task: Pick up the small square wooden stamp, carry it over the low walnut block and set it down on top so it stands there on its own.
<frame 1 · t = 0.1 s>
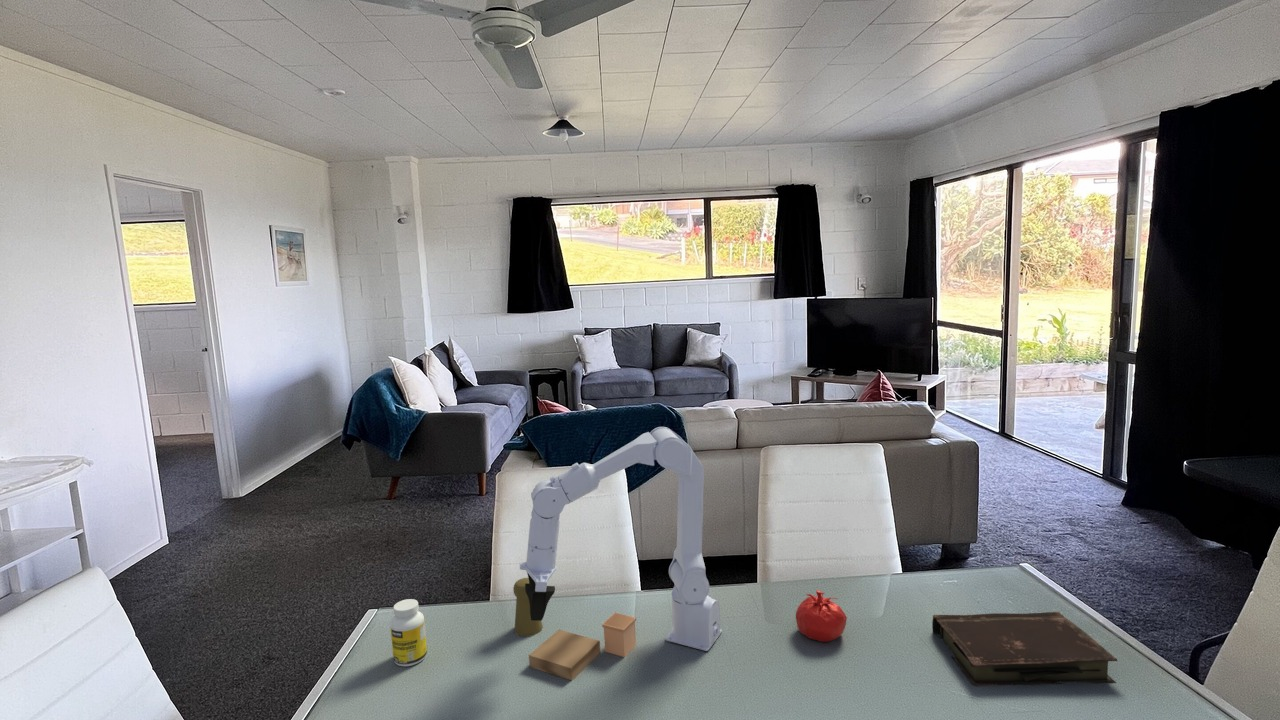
hand: (536, 609, 129), 11 cm above the table, tool pointing down, fingers open, 7 cm apart
olive pawn: (528, 629, 142), on the table
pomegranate: (821, 634, 135), on the table
pill bottle: (410, 659, 132), on the table
diary: (1017, 659, 124), on the table
walnut block: (565, 659, 130), on the table
square wooden stamp: (620, 648, 133), on the table
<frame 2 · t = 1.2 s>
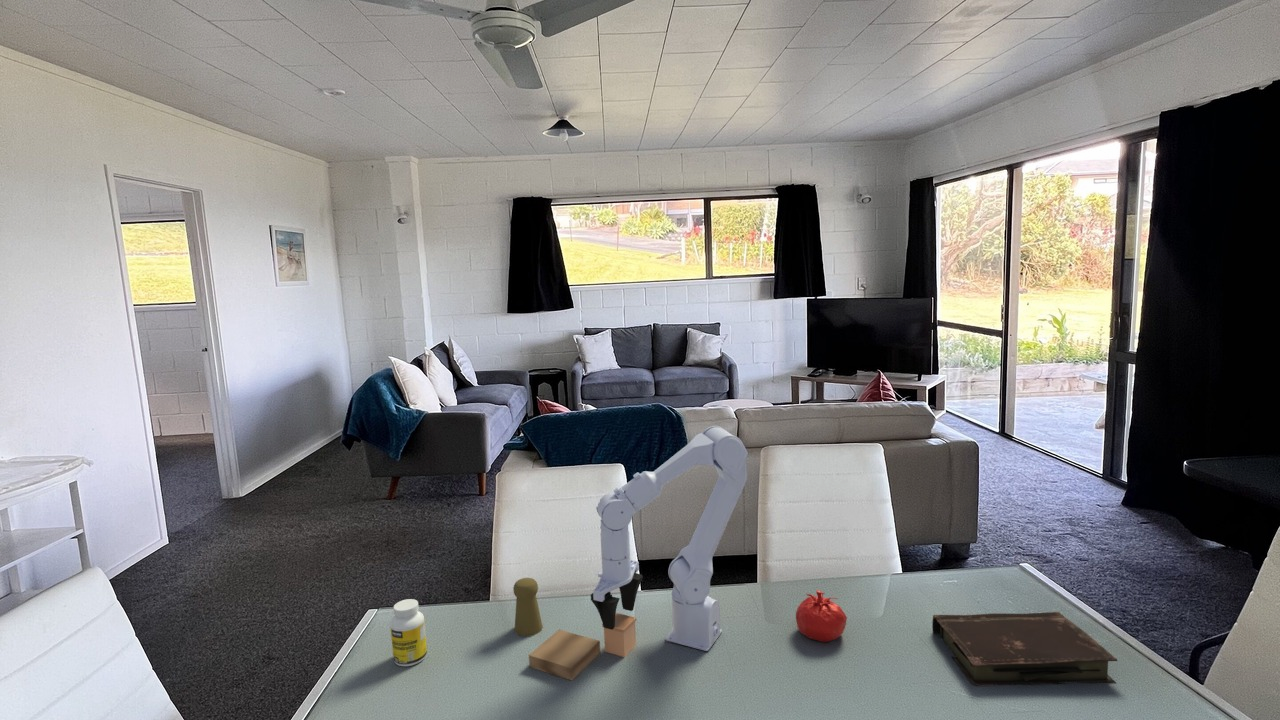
hand: (618, 618, 132), 6 cm above the table, tool pointing down, fingers open, 7 cm apart
nothing on the table moved.
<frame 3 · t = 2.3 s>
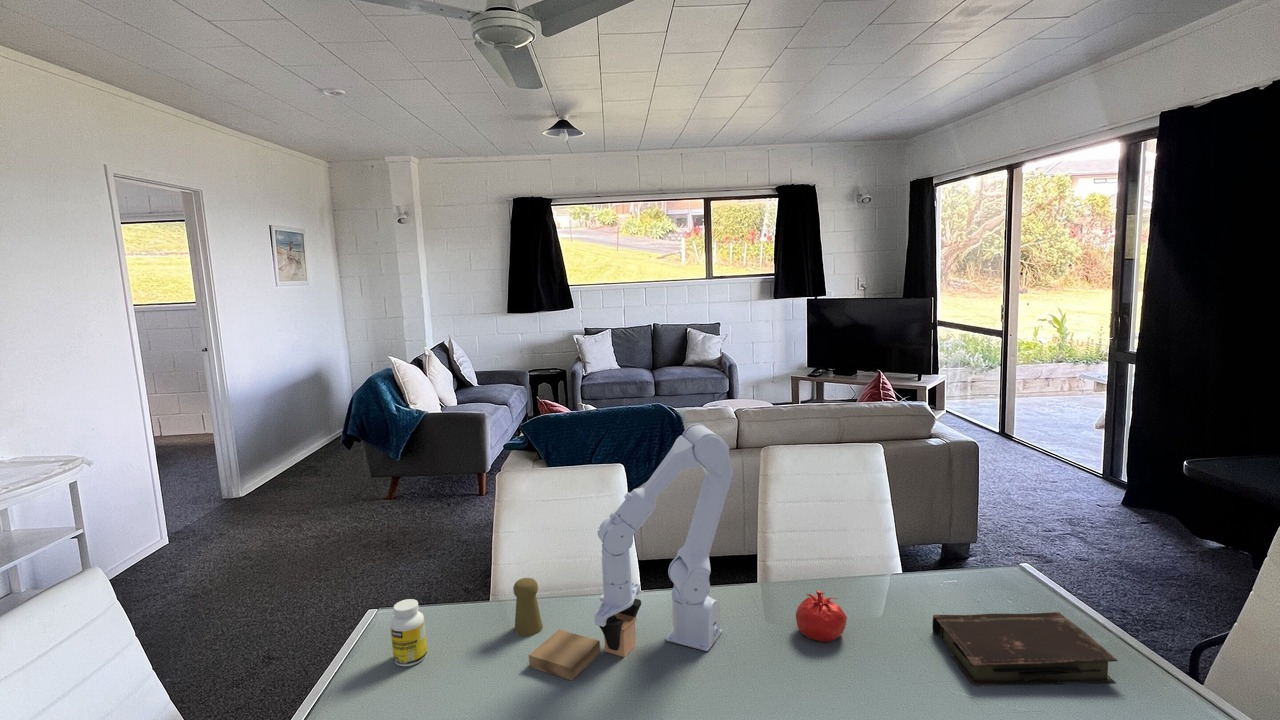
hand: (620, 641, 133), 1 cm above the table, tool pointing down, fingers closed on square wooden stamp, 5 cm apart
square wooden stamp: (620, 648, 133), on the table, touching gripper
everything else where it was.
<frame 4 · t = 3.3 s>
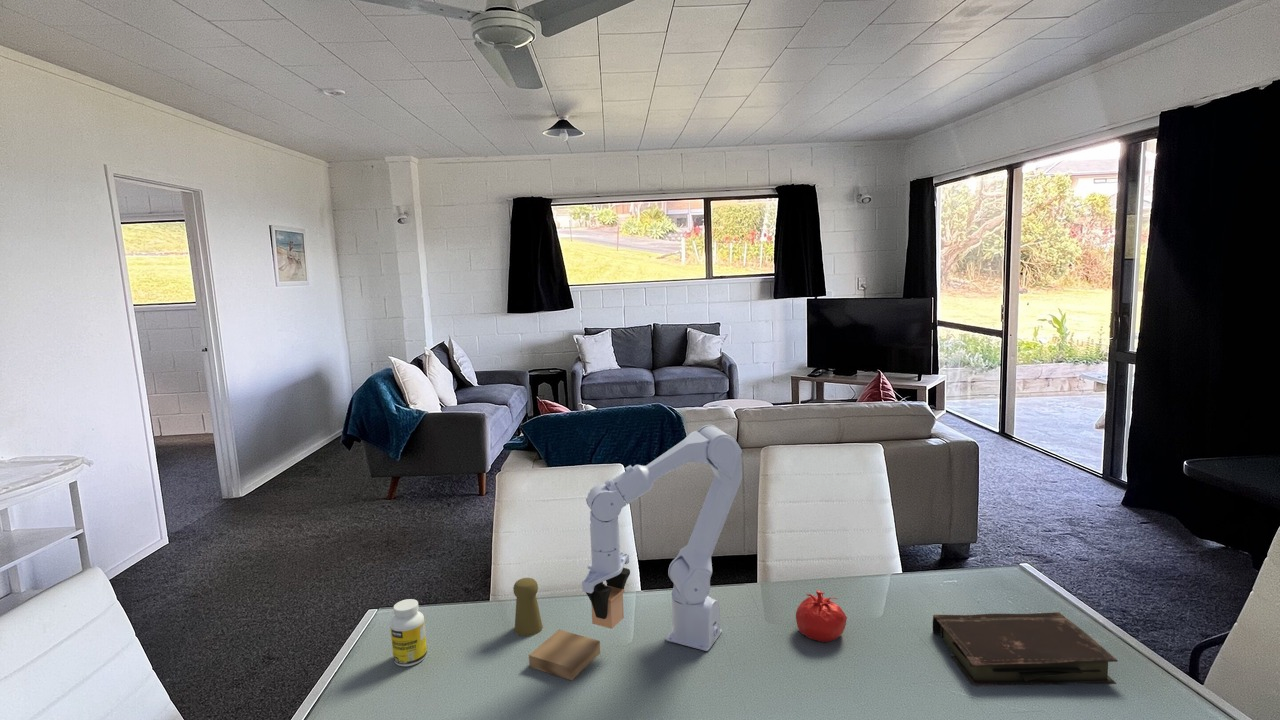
hand: (608, 610, 131), 9 cm above the table, tool pointing down, fingers closed on square wooden stamp, 5 cm apart
square wooden stamp: (608, 620, 131), point 6 cm above the table, touching gripper
everything else where it was.
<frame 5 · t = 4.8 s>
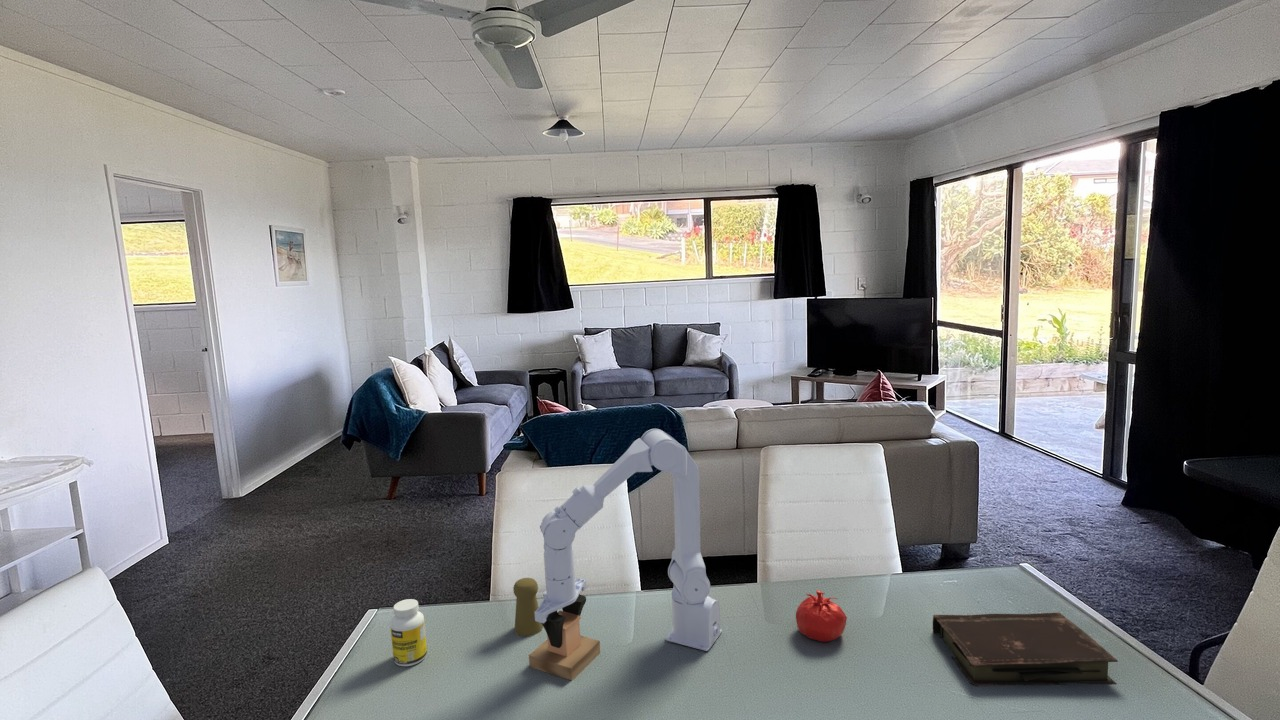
hand: (564, 638, 129), 4 cm above the table, tool pointing down, fingers closed on square wooden stamp, 5 cm apart
square wooden stamp: (564, 647, 129), point 3 cm above the table, touching gripper
everything else where it was.
when the fingers open (4 cm above the table, at t = 5.2 s): square wooden stamp stays where it is, resting on walnut block.
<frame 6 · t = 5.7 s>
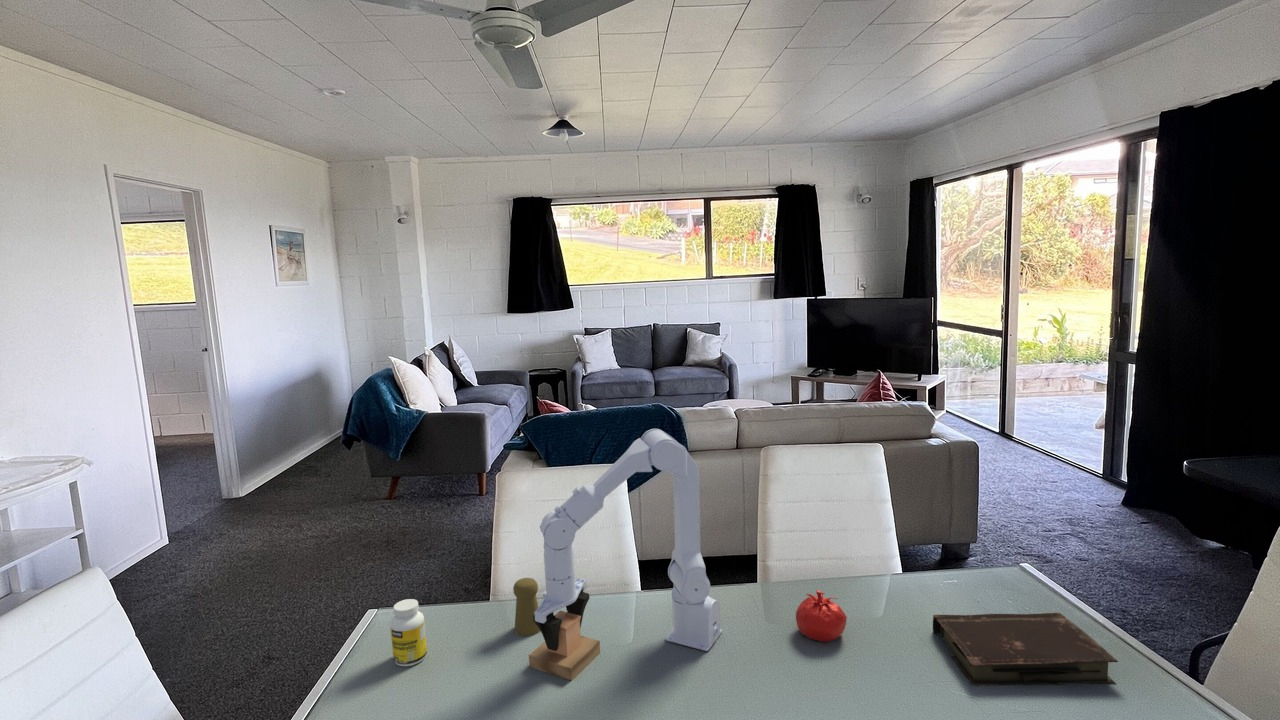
hand: (564, 638, 129), 4 cm above the table, tool pointing down, fingers open, 7 cm apart
square wooden stamp: (564, 647, 129), point 2 cm above the table, touching walnut block
everything else where it was.
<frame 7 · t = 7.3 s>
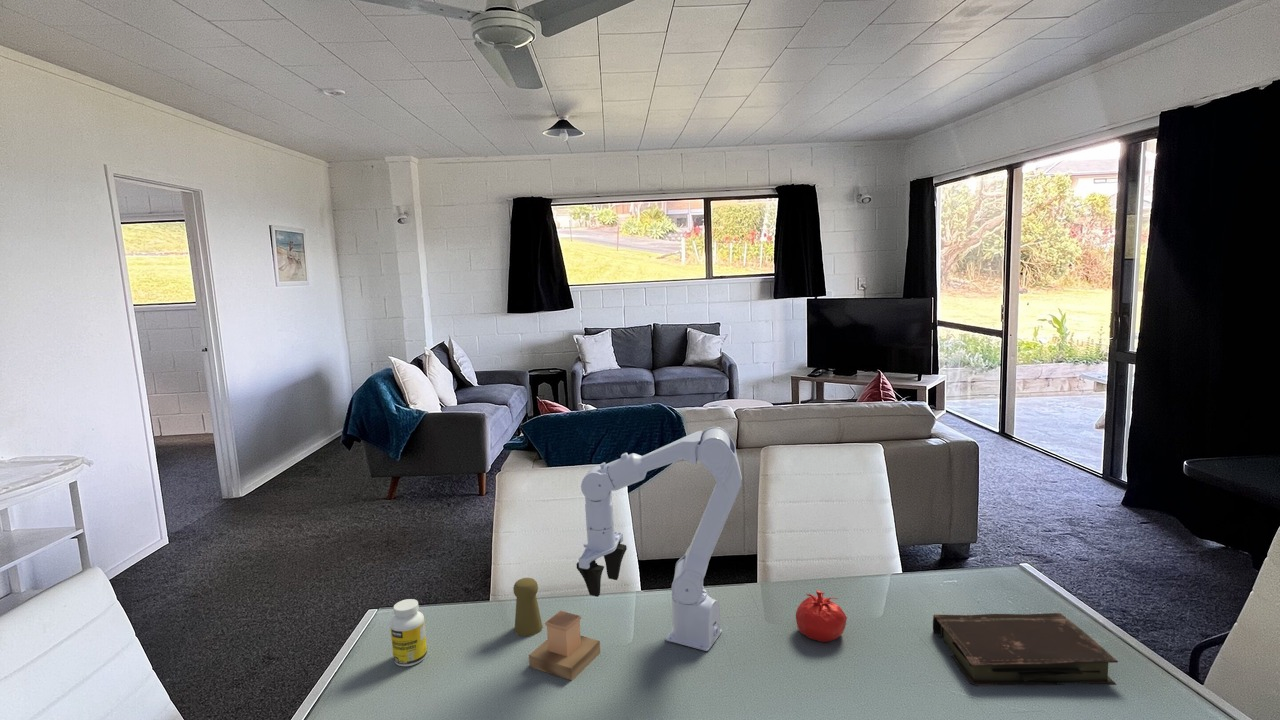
hand: (604, 586, 137), 10 cm above the table, tool pointing down, fingers open, 7 cm apart
nothing on the table moved.
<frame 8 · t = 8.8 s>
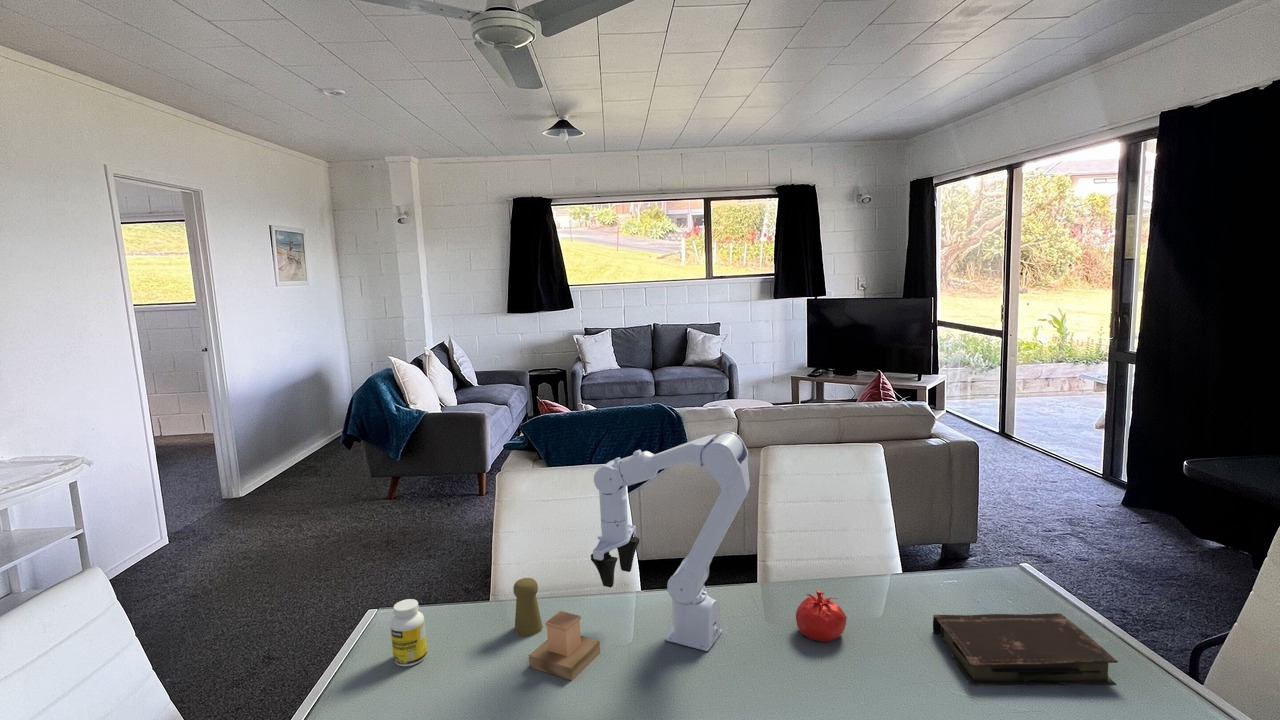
hand: (617, 578, 141), 10 cm above the table, tool pointing down, fingers open, 7 cm apart
nothing on the table moved.
at the end: square wooden stamp inside the target area on the walnut block (0.1 cm from its centre), point 2.5 cm above the walnut block's base; square wooden stamp tilted 0°; square wooden stamp touching walnut block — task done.
